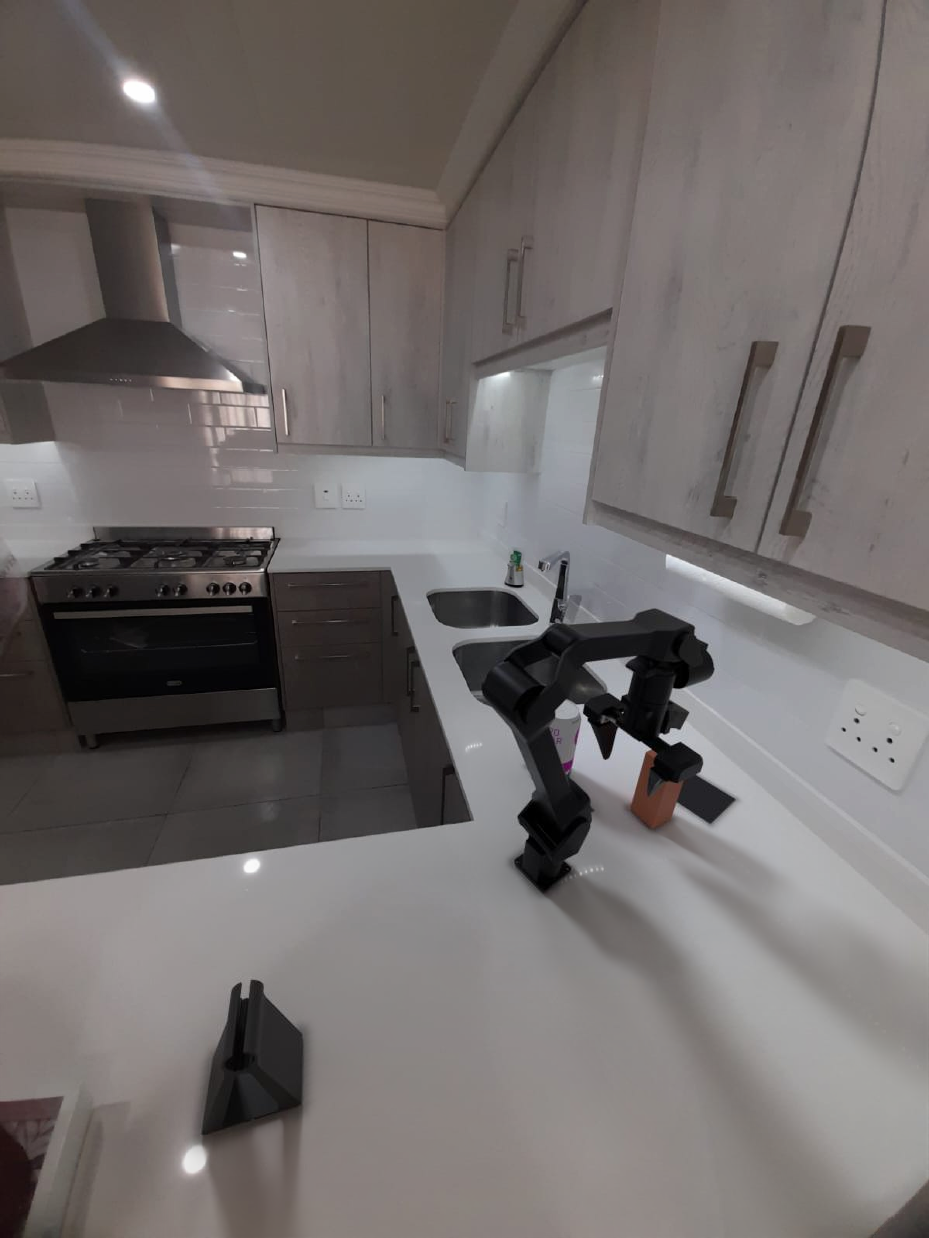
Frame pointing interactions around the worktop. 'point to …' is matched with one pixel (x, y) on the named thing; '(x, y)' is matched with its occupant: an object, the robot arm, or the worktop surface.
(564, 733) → the supplement can
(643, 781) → the terracotta block
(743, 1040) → the worktop surface
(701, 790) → the mat
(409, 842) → the worktop surface
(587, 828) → the robot arm
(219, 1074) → the phone stand
